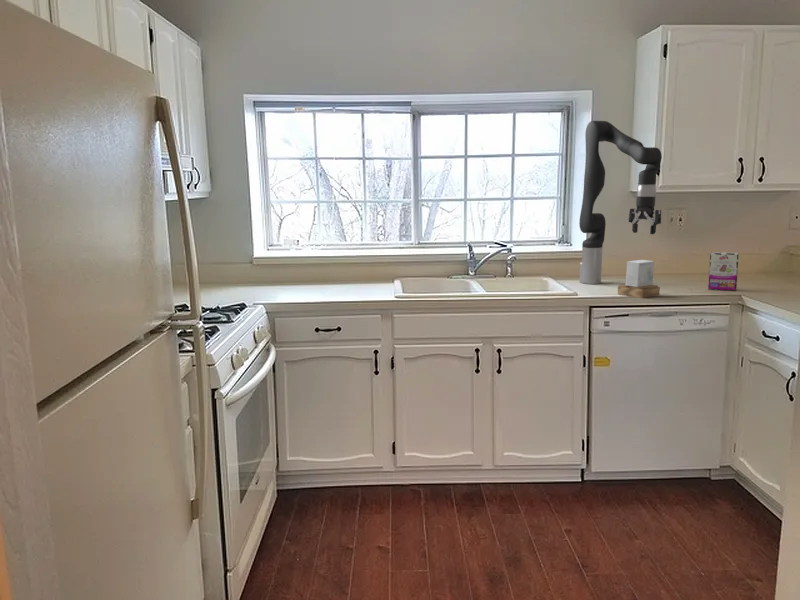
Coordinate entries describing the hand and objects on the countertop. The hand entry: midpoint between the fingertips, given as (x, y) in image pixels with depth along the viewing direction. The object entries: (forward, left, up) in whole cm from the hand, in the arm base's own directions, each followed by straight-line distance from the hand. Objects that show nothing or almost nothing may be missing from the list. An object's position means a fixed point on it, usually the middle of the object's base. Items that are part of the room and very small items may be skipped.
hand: (643, 233), depth 272 cm
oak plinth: (+4, -7, -26) cm, 27 cm away
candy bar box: (+20, +31, -26) cm, 45 cm away
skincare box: (+4, -7, -22) cm, 23 cm away
